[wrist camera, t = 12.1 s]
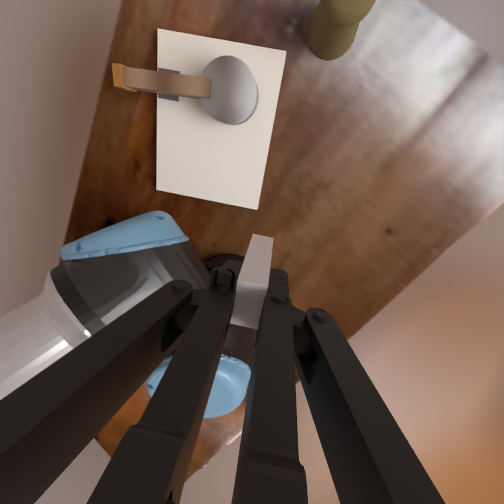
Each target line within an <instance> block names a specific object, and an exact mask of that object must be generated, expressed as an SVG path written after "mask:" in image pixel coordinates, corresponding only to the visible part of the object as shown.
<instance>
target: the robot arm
mask: <svg viewBox="0 0 504 504" xmlns="http://www.w3.org/2000/svg"><path fill="white" fill-rule="evenodd" d="M188 240H189V238H188V236H185V235H184V233H183V232H182V231H181V229H180V228H179V226H178V225H177V224H176V222H175V221H174V220H173V218H172V217H171V216H170V215H169V214H167V213H166V212H163V211H151V212H148V213H144V214H141V215H138V216H136V217H133V218H130V219H127V220H125V221H122V222H119V223H117V224H114V225H111V226H109V227H106V228H104V229H101V230H99V231H96V232H94V233H91V234H89V235H87V236H84V237H82V238H80V239H78V240H76V241H74V242H71V243H68V244H66V245H64V246H62V247H61V248H60V253H61V258H62V259H63V260H66V262H64V263H63V264H61V265H59V266H57V267H56V268H54V269H52V270H50V271H48V273H47V276H46V280H45V284H44V288H43V291H42V292H41V294H40V295H38V296H36V297H34V298H33V299H31V300H29V301H28V302H26V303H24V304H23V305H21V306H19V307H17V308H16V309H14V310H12V311H11V312H9V313H7V314H5V315H4V316H2V317H0V504H34V503H35V502H36V501H37V500H38V499H39V498H40V497H41V496H42V494H43V493H44V492H45V491H46V490H47V489H48V488H49V487H50V485H51V484H52V483H53V482H54V481H55V480H56V479H57V478H58V477H59V476H60V475H61V473H62V472H63V471H64V470H65V469H66V468H67V467H68V466H69V465H70V464H71V462H72V461H73V460H74V459H75V458H76V457H77V456H78V455H79V454H80V452H81V451H82V450H83V449H84V448H85V447H86V446H87V445H88V444H89V442H90V441H91V440H92V439H93V438H94V437H95V436H96V435H97V434H98V433H99V431H100V430H101V429H102V428H103V427H104V426H105V425H106V424H107V423H108V421H109V420H110V419H111V418H112V417H113V416H114V415H115V414H116V413H117V411H118V410H119V409H120V408H121V407H122V406H123V405H124V404H125V403H126V402H127V400H128V399H129V398H130V397H131V396H132V395H133V394H134V393H135V392H136V390H137V389H138V388H139V387H140V386H141V385H142V384H143V383H144V382H145V381H146V379H147V384H146V387H147V391H148V393H149V395H150V396H151V397H152V398H151V400H150V401H149V403H148V405H147V407H146V409H145V411H144V413H143V415H142V417H141V419H140V420H139V422H138V423H137V424H136V425H133V426H131V427H130V428H129V429H128V430H127V431H126V433H125V435H124V436H123V438H122V440H121V441H120V443H119V445H118V447H117V449H116V451H115V452H114V454H113V456H112V458H111V460H110V462H109V464H108V465H107V467H106V469H105V471H104V473H103V474H102V476H101V478H100V480H99V482H98V484H97V486H96V487H95V489H94V491H93V493H92V495H91V496H90V498H89V500H88V502H87V504H179V502H180V498H181V494H182V490H183V486H184V482H185V479H186V475H187V472H188V468H189V465H190V461H191V458H192V455H193V451H194V448H195V444H196V441H197V437H198V434H199V430H200V427H201V424H202V420H203V418H212V417H218V416H221V415H225V414H227V413H229V412H231V411H233V410H234V409H235V408H237V407H238V406H239V405H240V403H241V402H242V400H243V398H244V396H245V394H246V390H247V386H248V382H249V379H250V382H249V389H248V396H247V403H246V410H245V416H244V423H243V430H242V438H241V443H240V451H239V457H238V464H237V472H236V477H235V485H234V491H233V497H232V503H231V504H308V496H307V482H306V474H305V470H304V467H303V466H302V465H301V464H300V462H299V454H298V433H297V412H296V410H297V409H296V387H295V364H296V368H297V371H298V374H299V377H300V380H301V383H302V386H303V389H304V392H305V395H306V398H307V402H308V405H309V408H310V411H311V414H312V417H313V420H314V423H315V426H316V430H317V433H318V436H319V439H320V442H321V445H322V448H323V451H324V454H325V457H326V461H327V464H328V467H329V470H330V473H331V476H332V479H333V482H334V485H335V489H336V492H337V494H338V498H339V501H340V504H445V502H444V501H443V499H442V497H441V496H440V494H439V492H438V491H437V489H436V487H435V486H434V484H433V482H432V481H431V479H430V477H429V476H428V474H427V472H426V471H425V469H424V467H423V466H422V464H421V462H420V461H419V459H418V458H417V456H416V454H415V453H414V451H413V449H412V448H411V446H410V444H409V443H408V441H407V439H406V438H405V436H404V434H403V433H402V431H401V429H400V428H399V426H398V425H397V423H396V421H395V419H394V418H393V416H392V414H391V413H390V411H389V409H388V408H387V406H386V404H385V403H384V401H383V399H382V398H381V396H380V395H379V393H378V391H377V390H376V388H375V386H374V385H373V383H372V381H371V380H370V378H369V376H368V375H367V373H366V371H365V370H364V368H363V366H362V365H361V363H360V361H359V360H358V358H357V356H356V355H355V353H354V351H353V350H352V348H351V346H350V345H349V343H348V342H347V340H346V338H345V337H344V335H343V333H342V332H341V330H340V328H339V327H338V325H337V323H336V322H335V320H334V318H333V317H332V316H331V315H330V314H329V313H328V312H326V311H325V310H322V309H320V308H310V309H308V310H307V311H306V312H304V311H302V310H299V309H298V308H296V307H294V306H293V305H292V301H291V299H290V298H289V285H288V274H287V273H286V272H285V271H284V270H279V269H274V268H270V265H271V256H272V247H273V238H271V237H266V236H261V235H256V234H253V236H252V239H251V241H250V244H249V247H248V250H247V253H246V256H245V257H242V256H238V255H220V256H216V257H214V258H211V259H210V260H208V261H207V262H205V263H204V264H203V263H202V261H201V260H200V258H199V256H198V255H197V253H196V252H195V250H194V249H193V247H192V246H191V244H190V242H189V241H188ZM256 329H258V331H257V335H256V340H255V334H256ZM254 341H255V344H254ZM253 348H254V355H253ZM252 355H253V362H252ZM294 361H295V364H294ZM251 362H252V369H251ZM250 369H251V371H250Z"/></svg>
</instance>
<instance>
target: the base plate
mask: <svg viewBox="0 0 504 504" xmlns="http://www.w3.org/2000/svg"><path fill="white" fill-rule="evenodd" d="M225 55H227V56H234V57H236V58H238V59H240V60H242V61H243V62H244V63H245V64H246V65H247V66H248V68H249V69H250V71H251V73H252V75H253V77H254V79H255V81H256V84H257V87H258V93H259V98H258V104H257V108H256V110H255V112H254V114H253V115H252V116H251V117H250V118H249V119H248V120H247V121H246V122H244V123H242V124H239V125H229V124H225V123H222V122H219V121H217V120H215V119H214V118H212V117H211V116H210V115H209V114H208V113H207V112H206V110H205V109H204V107H203V105H202V102H201V99H196V98H188V97H181V96H174V95H166V94H159V93H157V179H156V190H161V191H166V192H171V193H176V194H181V195H186V196H191V197H195V198H200V199H205V200H210V201H215V202H220V203H225V204H230V205H235V206H240V207H245V208H250V209H255V210H257V209H258V204H259V199H260V193H261V188H262V183H263V177H264V172H265V166H266V161H267V156H268V150H269V145H270V139H271V134H272V129H273V123H274V118H275V112H276V107H277V102H278V96H279V91H280V85H281V80H282V75H283V69H284V64H285V58H286V51H282V50H277V49H271V48H265V47H260V46H254V45H248V44H243V43H237V42H231V41H225V40H220V39H214V38H208V37H203V36H197V35H191V34H186V33H180V32H174V31H169V30H163V29H158V56H157V71H161V72H168V73H176V74H184V75H191V76H199V77H201V75H202V73H203V71H204V69H205V67H206V66H207V65H208V64H209V63H210V62H211V61H212V60H213V59H215V58H217V57H220V56H225Z"/></svg>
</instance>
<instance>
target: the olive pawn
mask: <svg viewBox="0 0 504 504" xmlns="http://www.w3.org/2000/svg"><path fill="white" fill-rule="evenodd" d="M375 1H376V0H321V2H320V4H319V6H318V7H317V9H316V11H315V13H314V15H313V17H312V19H311V21H310V24H309V28H308V42H309V45H310V48H311V50H312V51H313V53H314V54H315V55H316V56H317V57H319V58H320V59H324V60H334V59H336V58H338V57H340V56H342V55H343V54H344V53H345V52H346V51H347V50H348V49H349V48H350V46H351V44H352V43H353V41H354V38H355V35H356V32H357V29H358V26H359V23H360V21H361V20H362V19H363V18H364V17H365V16H366V15H367V14H368V13H369V11H370V9H371V8H372V6H373V4H374V3H375Z"/></svg>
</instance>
